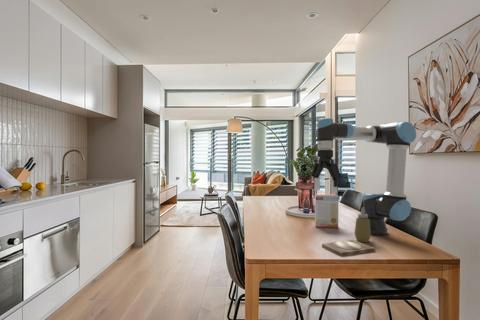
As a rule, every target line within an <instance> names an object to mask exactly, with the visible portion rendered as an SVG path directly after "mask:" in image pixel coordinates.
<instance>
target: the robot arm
mask: <svg viewBox="0 0 480 320" xmlns="http://www.w3.org/2000/svg"><path fill="white" fill-rule="evenodd" d="M315 129H316V130H315V131H314V133H315V134H314V135H315V137H316V139H317V149H318V150H317V154H316V155H317V158H315V159H314V165H313V168H312V171H311V177H312V178H313V180H314V181H313V183H314V184H313V185H314V191H320V190H321V189H320V188H321V184H320V183H321V181H320V180H321V179H320V175H321V173H322V172H323V170H324V169H326V170H327V171H328V173H329V175H330V177H331V178H332V179H331V194H336V195H338V186H339V180H341V179H342V176H341V173H340V169H339V167H338V162H337V159H335V158H334V150H333V149H334V140H336V141H337V140H342V141H343V140H344V141H346V140H347V141H365V142H367V143H374V144H375V143H376V144H385V146H386V147H387V149H388V161H387V171H386V172H387V175H386V187H385V191H384V192H383V193H365V194H363V200H362V207H364V209H365V214H367V215H368V219H369V220H370V230H371V236H373V235H375V236H383V235H384V236H386V235H388V234H389V231H388V227H387V224H386V220H385V218H386V219H390V220H393V221H404V220H406V219H407V218H408V217H409V215H410V214H411V211H412V205H411V203H410V201H409V200H407V195H406V194H405V193H404V192H405V178H406V164H407V163H406V162H407V150H408V149H409V148H410V147H411V143H413V142H415V140H416V138H417V130H416V128H415V126H414V125H413V124H412V123H410V122H409V121H397V122H389V123H383V124H378V125H367V126H365V127H364V126H362V127H360V126H353V124H352V123H347V122H344V123H342V122H334V119H333V118H330V117H325V118H318V120H317V125H316V128H315Z"/></svg>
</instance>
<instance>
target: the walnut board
mask: <svg viewBox="0 0 480 320" xmlns="http://www.w3.org/2000/svg"><path fill="white" fill-rule="evenodd" d="M321 247H322V248H324V249H325V250H327V251H330V252H332V253H333V254H336V255H338V256H340V257H344V256H350V255H358V254H365V253H373V252H376V248H375V247H374V246H370V245H368V244H365V243H364V242H360V241H357V240H355V239H351V240H349V239H348V240H342V241H334V242H325V243H322V244H321Z"/></svg>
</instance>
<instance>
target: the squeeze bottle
mask: <svg viewBox="0 0 480 320" xmlns="http://www.w3.org/2000/svg"><path fill="white" fill-rule="evenodd" d="M357 216H358V217H357V218H356V219H355V226H354V227H355V229H354V236H355V239H356V241H358V242H361V243H368V242H369V241H370V238H371V236H372V234H371V230H370V220H369V219H368V215H367V214H365V209H364V207H363V206H362V207H361V210H360V212H359V213H358V215H357Z"/></svg>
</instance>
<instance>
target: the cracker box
mask: <svg viewBox="0 0 480 320" xmlns="http://www.w3.org/2000/svg"><path fill="white" fill-rule="evenodd" d="M314 227H315V228H324V229H325V228H327V229H329V228H332V229H338V228H339V195H338V194H332V193H331V194H330V193H329V194H328V193H315V194H314Z"/></svg>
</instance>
